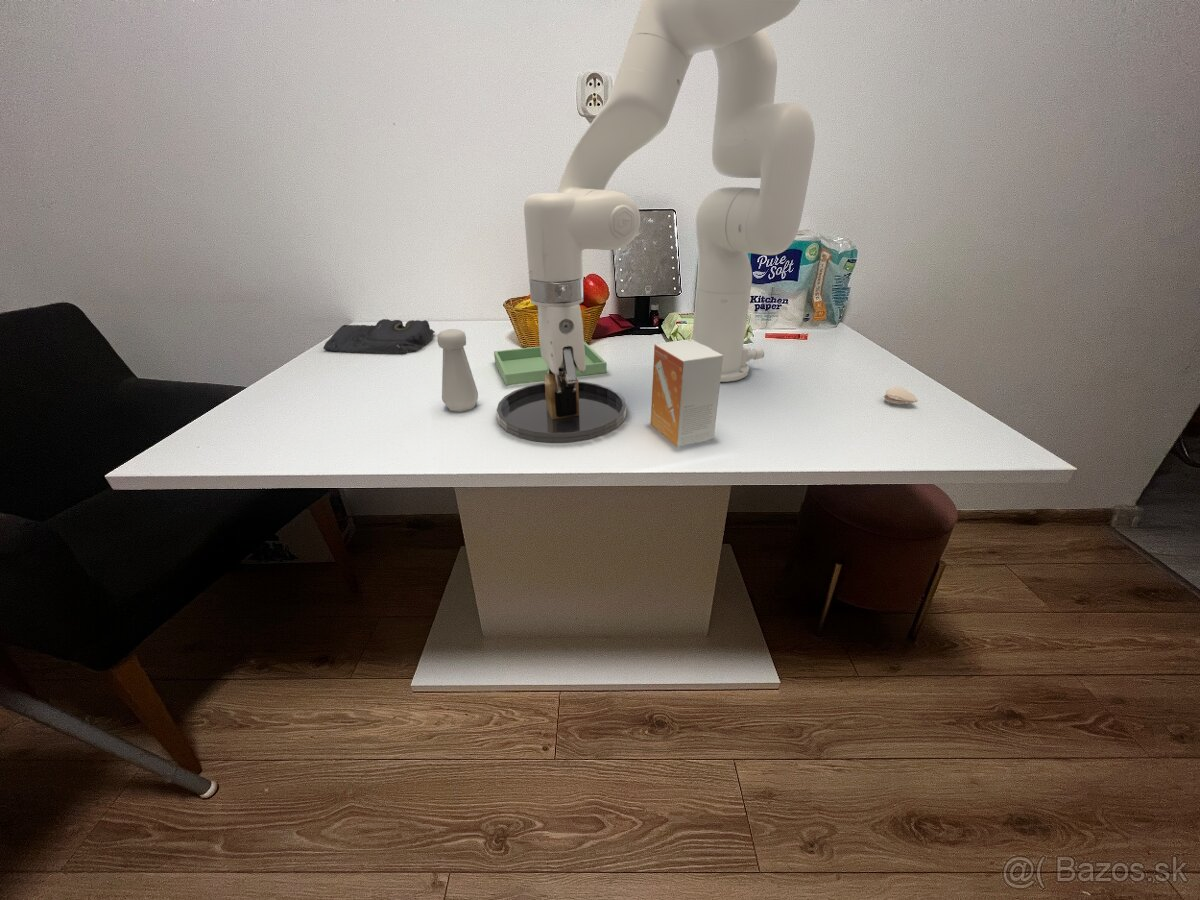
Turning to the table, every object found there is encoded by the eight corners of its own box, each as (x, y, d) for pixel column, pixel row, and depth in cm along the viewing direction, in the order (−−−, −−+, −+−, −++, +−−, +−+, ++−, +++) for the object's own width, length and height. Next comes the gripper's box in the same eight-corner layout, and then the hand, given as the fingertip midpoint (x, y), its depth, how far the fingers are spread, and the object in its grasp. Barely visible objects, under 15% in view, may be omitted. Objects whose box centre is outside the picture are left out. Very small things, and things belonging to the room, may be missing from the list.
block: (572, 405, 83) (571, 371, 81) (579, 415, 80) (578, 379, 77) (546, 409, 82) (544, 374, 79) (552, 419, 79) (549, 383, 76)
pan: (602, 385, 93) (602, 375, 92) (645, 433, 76) (645, 421, 75) (490, 400, 87) (489, 389, 86) (510, 455, 70) (508, 442, 69)
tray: (585, 353, 109) (584, 341, 108) (606, 375, 97) (606, 362, 96) (495, 363, 104) (493, 351, 103) (506, 387, 92) (504, 374, 91)
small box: (649, 426, 78) (653, 343, 71) (685, 419, 80) (692, 337, 74) (676, 450, 71) (683, 360, 65) (714, 441, 73) (725, 354, 67)
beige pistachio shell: (888, 396, 87) (892, 382, 86) (920, 404, 84) (924, 390, 83) (878, 403, 85) (882, 389, 83) (911, 412, 82) (916, 397, 80)
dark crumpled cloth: (354, 332, 124) (349, 313, 122) (441, 334, 122) (438, 314, 120) (317, 352, 111) (311, 330, 109) (414, 354, 109) (409, 332, 107)
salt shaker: (470, 417, 81) (459, 337, 75) (437, 414, 82) (423, 335, 76) (485, 403, 86) (475, 326, 80) (453, 400, 87) (442, 325, 81)
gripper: (600, 301, 66) (601, 427, 75) (566, 278, 80) (571, 387, 89) (543, 306, 64) (551, 435, 73) (519, 281, 78) (528, 393, 87)
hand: (562, 407), depth 81 cm, fingers closed on block, 4 cm apart
